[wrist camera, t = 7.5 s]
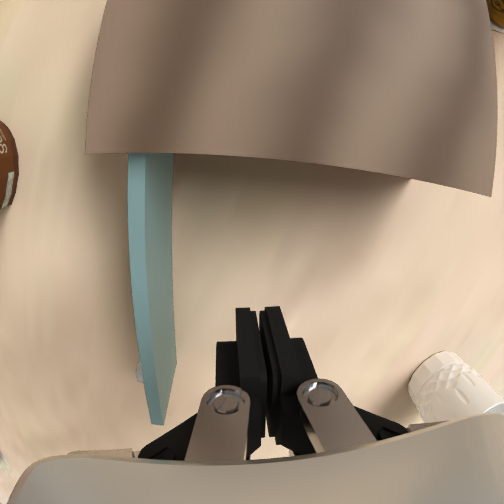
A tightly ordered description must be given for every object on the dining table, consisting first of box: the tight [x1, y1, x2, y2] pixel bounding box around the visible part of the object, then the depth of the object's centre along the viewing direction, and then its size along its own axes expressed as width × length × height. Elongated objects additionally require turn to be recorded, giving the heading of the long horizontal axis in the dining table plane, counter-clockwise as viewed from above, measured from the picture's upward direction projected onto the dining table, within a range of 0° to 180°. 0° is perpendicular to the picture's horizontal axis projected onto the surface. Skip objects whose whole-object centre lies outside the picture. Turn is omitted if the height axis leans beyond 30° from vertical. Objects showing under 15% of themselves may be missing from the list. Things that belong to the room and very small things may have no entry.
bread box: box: [85, 0, 497, 197], centre depth 15 cm, size 20×14×9 cm
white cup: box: [408, 351, 504, 423], centre depth 24 cm, size 8×8×10 cm
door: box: [128, 153, 177, 425], centre depth 18 cm, size 16×2×7 cm, turn 176°
